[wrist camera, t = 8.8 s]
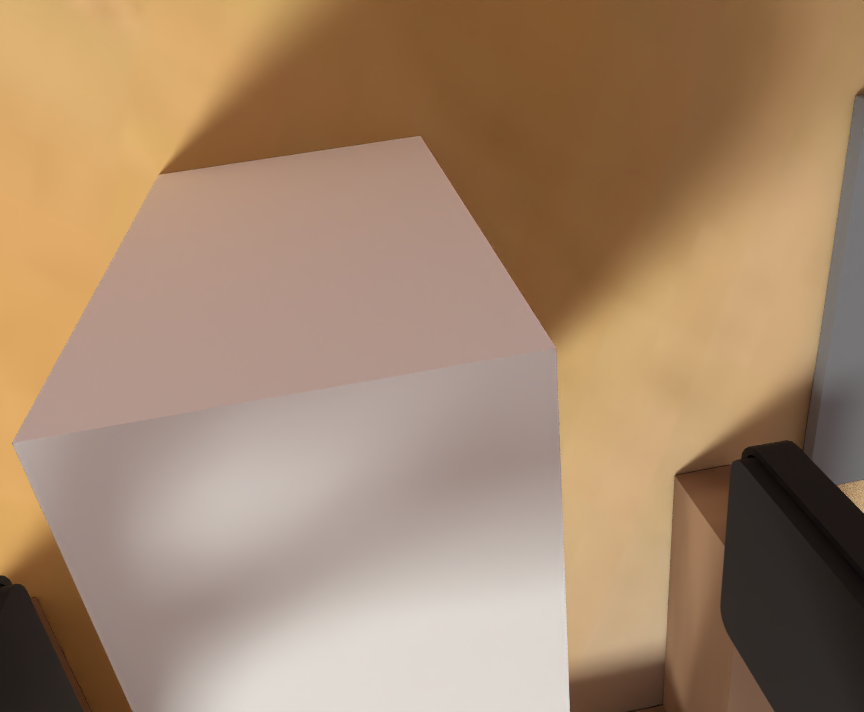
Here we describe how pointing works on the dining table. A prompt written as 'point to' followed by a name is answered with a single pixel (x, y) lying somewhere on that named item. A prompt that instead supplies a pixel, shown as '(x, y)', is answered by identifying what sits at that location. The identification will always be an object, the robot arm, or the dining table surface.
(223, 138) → the dining table surface
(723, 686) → the frame
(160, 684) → the white box
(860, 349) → the rubber mat
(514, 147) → the dining table surface
